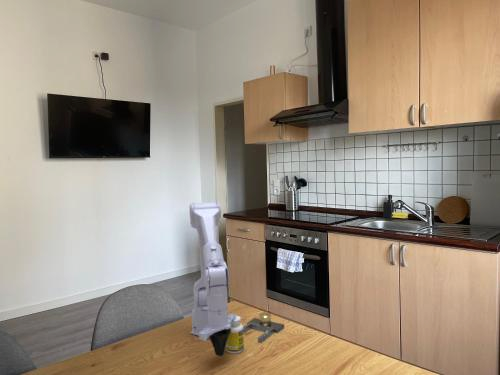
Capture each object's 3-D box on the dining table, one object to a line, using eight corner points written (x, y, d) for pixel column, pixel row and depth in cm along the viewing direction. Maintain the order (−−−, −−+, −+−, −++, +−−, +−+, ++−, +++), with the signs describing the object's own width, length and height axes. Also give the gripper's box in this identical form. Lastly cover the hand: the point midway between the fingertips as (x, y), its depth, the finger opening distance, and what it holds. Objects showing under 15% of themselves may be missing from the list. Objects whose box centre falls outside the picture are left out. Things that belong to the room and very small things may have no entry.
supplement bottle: (241, 354, 108) (240, 322, 108) (224, 353, 109) (222, 321, 109) (245, 346, 113) (244, 314, 113) (228, 344, 114) (227, 314, 114)
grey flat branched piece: (232, 335, 121) (232, 323, 120) (254, 320, 132) (254, 309, 132) (264, 344, 114) (263, 331, 114) (284, 327, 125) (284, 315, 125)
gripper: (212, 320, 96) (215, 370, 97) (243, 301, 108) (245, 346, 109) (192, 315, 100) (194, 363, 100) (224, 298, 112) (226, 341, 113)
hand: (219, 354), depth 105 cm, fingers closed
